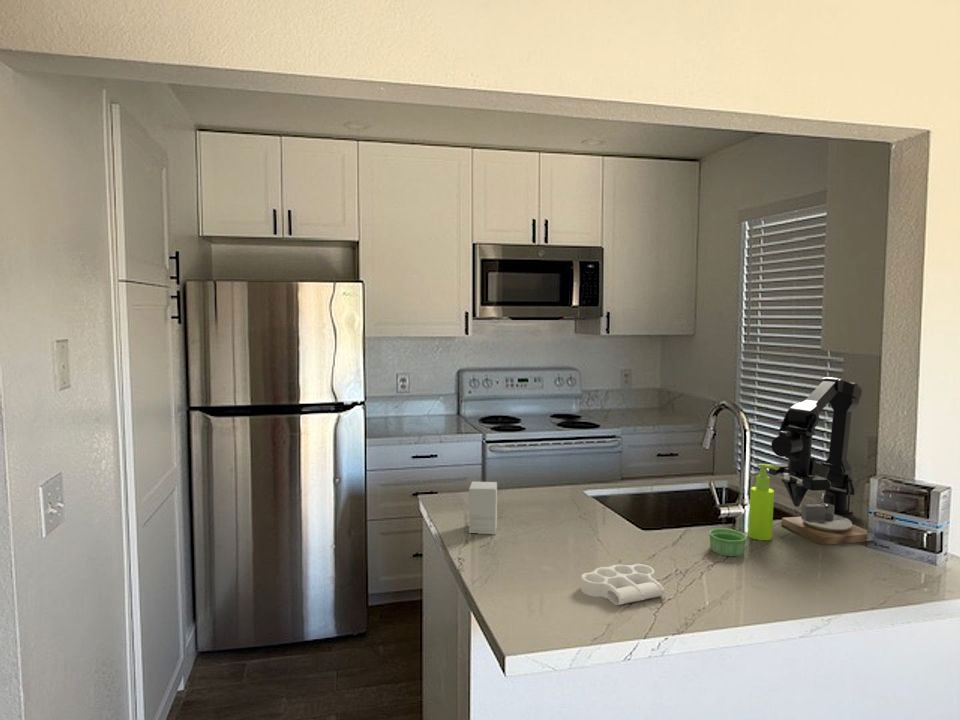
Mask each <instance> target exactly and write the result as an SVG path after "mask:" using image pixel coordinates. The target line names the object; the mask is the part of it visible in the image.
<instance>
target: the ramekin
mask: <svg viewBox="0 0 960 720" xmlns="http://www.w3.org/2000/svg"><path fill="white" fill-rule="evenodd" d="M708 536H709V545H710V550H711V551H712V552H713V551H714V552H713V553H715V552H716V553H715V554H717V553H718V555H720V554H722V555H721V556H724V555H728V556H727V557H739V555H740V556H742V555H744V552H745V546H746V542H747V539H748V537H747V535H746V534H745V533H744V532H741V531H739V530H736V529H731V528H730V529H729V528H723V527H722V528H713V529H711V530H709V531H708Z"/></svg>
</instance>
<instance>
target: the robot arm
mask: <svg viewBox="0 0 960 720" xmlns="http://www.w3.org/2000/svg"><path fill="white" fill-rule="evenodd" d="M862 391H863V390H862V387H861V386H859V384H858V383H857V382H850V381H846V380H844V379H841V378H840V377H839V378H837V377H828V376H827V377H823V378H821V381H820V383H819V385H817V387H815V388H814V390H813V391H812V392H811V393H810V394H809V396H808V397H807V398H806V399H805V400H803V401H801V402H797V403H795V404H793V405H792V406H790V408H789V409H788V410H786V413H785V415H784V416H783V417H784V418H783V420H782V422H781V425H780V427H779V432H778V435H777V436H776V437H774V438H773V439H772V442H771V450H772V452H773V453H774V454H775V455H776V456H777V457H781V458H785V459H787V460H788V461H787V463H771V465H774V466H777V467H780V469H778V470H775V469H771V468H768V474H769V475H771V476H775V477H776V476H777V475H778V474H782V475H783V479H781V482H782V483H783V485H784V487H785V489H786V491H787V493H788V495H789V498H790V500H791V502H792V504H793V506H794V507H797V508H798V507H800V506H801V505H802V502H803V500H804V497H805V495H806V494H807V492H808V491H813V492H814V491H815V492H817V491H824V492H825V493H824V495H823V503H828V504H832V505H834V514H835V515H844V514H845V515H846V514H853V513H854V511H853V510H851V509H850V503H851V501H850V500H851V496H855V494H856V492H857V487H858V486H857V485H858V484H857V483H856V481H855V480H854V477H853V473H852V470H853V469H852V467H851V465H850V463H849V461H848V459H847V458H848V449H849V442H850V441H849V439H850V433H851V432H850V428H851V420H852V419H851V418H852V413H853V411H854V410H855V409H856V408H857V406H858V405H859V404H860V399H861V397H862V394H863V393H862ZM828 404H829V405H830V406H831V408H832V410H833V411H832V421H831V430H830V431H831V433H830V442H829V450H828V458H827V459H826V460H825V461H824V462H821V464H820V463H819V462H818V463H817V462H816V457H815V456H812V447H813V436H815V435H816V432H815V429H816V428H817V426H818V424H819V421H820V418H821V417H820V413H821V412H822V410H823V409H825V407H826V406H827V405H828Z"/></svg>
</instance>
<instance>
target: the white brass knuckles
mask: <svg viewBox="0 0 960 720" xmlns="http://www.w3.org/2000/svg"><path fill="white" fill-rule="evenodd" d="M655 573H656V572H655V569H654V568H653V567H651V566H649V565H646V564H643V563H635V564H630V565H628V564H613V565H610V566H600V567H597V568H595V569H594V570H593V571H591V572H590V571H589V572H584V573H582V574H581V576H580V591H581V592H582V593H583V594H584V595H586V596H590V597H595V598H605V599H608V600H609V601H610V602H611V603H612V604H613V605H615V606H620V605H624V604H629V603H634V602H640V601H644V600H649V599H650V600H651V599H655V598H660V597H664V596H665V595H666V590H665V588H664V586H663V585H662V584H661V583H660V582H659V581H658V580H656V579H655V575H656V574H655Z"/></svg>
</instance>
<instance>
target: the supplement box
mask: <svg viewBox="0 0 960 720" xmlns="http://www.w3.org/2000/svg"><path fill="white" fill-rule="evenodd" d="M468 518H469V519H468V520H469V521H468V532H469V534H470V533H478V534H477V535H479V534H480V535H496V533H497V527H498V482H497V481H473V480H471V483H470V485H469V487H468Z"/></svg>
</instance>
